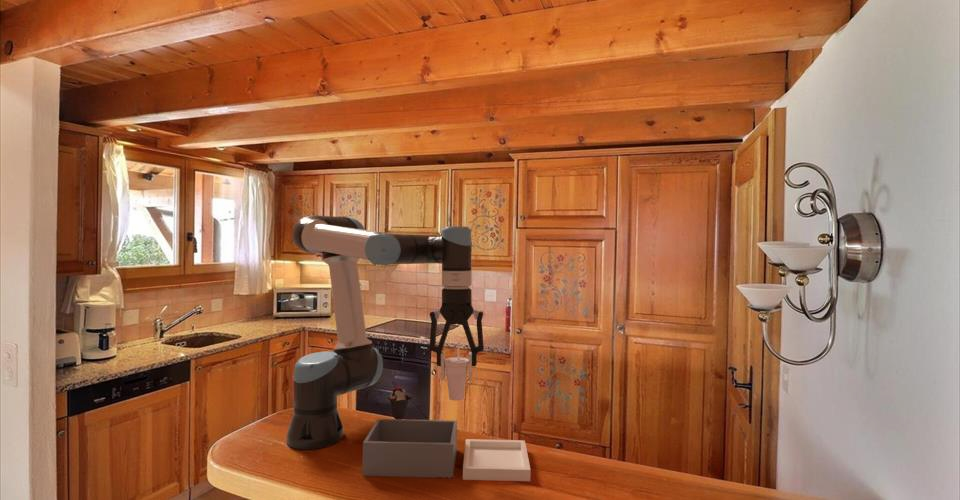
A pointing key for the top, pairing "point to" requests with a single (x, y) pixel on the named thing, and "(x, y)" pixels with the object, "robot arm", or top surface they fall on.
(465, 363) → the smoothie
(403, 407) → the sundae
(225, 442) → the top surface
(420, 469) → the deep bin
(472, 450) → the tray
